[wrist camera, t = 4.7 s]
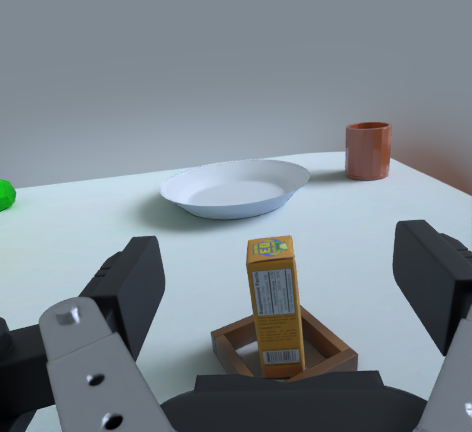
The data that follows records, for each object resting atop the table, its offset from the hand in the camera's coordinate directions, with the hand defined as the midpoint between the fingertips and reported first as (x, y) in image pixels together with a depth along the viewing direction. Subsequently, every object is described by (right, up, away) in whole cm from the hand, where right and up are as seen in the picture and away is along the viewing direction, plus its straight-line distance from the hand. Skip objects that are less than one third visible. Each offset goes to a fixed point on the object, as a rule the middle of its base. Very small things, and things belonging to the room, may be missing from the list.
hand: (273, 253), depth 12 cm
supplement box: (+2, -10, +15) cm, 18 cm away
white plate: (-1, +4, +50) cm, 50 cm away
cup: (+23, +9, +55) cm, 61 cm away
